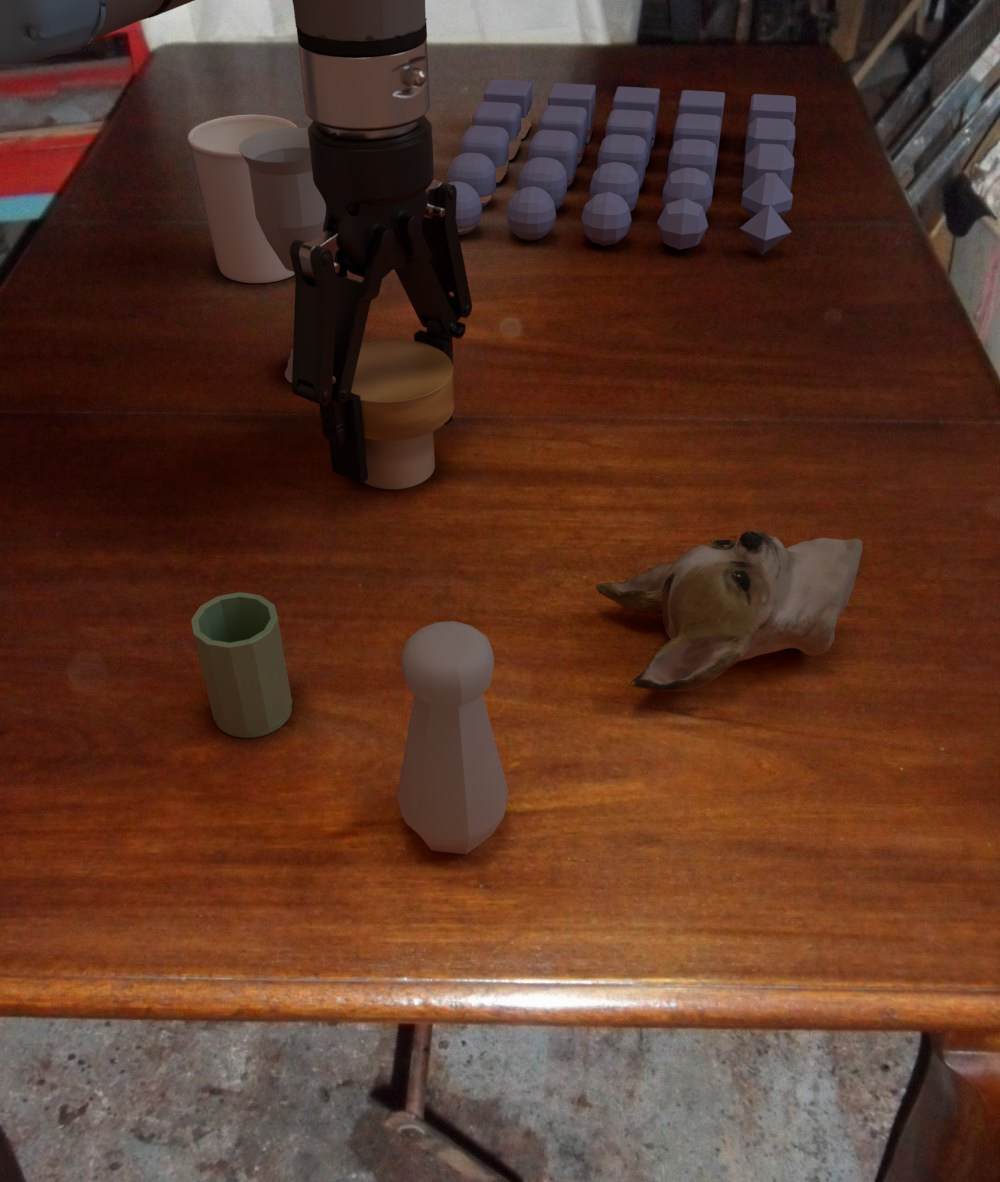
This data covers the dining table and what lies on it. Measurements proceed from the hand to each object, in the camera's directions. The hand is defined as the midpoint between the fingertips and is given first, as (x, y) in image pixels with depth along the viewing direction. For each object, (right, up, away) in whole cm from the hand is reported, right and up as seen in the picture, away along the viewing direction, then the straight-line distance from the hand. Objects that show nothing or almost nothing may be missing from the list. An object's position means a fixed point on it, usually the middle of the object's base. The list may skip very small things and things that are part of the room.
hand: (394, 445), depth 87 cm
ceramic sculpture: (+22, -16, -13) cm, 30 cm away
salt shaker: (+5, -26, -23) cm, 35 cm away
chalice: (-8, +9, +12) cm, 16 cm away
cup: (-7, -20, -17) cm, 27 cm away
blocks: (+21, +37, +40) cm, 58 cm away
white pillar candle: (0, -1, +1) cm, 2 cm away
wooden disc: (0, +2, -2) cm, 3 cm away
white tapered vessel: (-15, +23, +27) cm, 38 cm away
